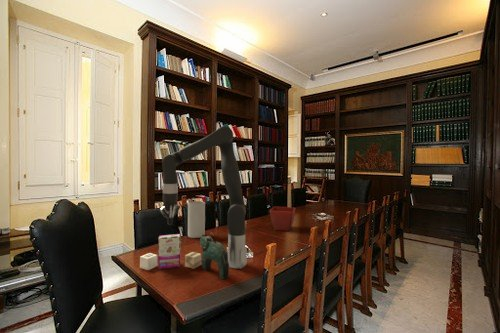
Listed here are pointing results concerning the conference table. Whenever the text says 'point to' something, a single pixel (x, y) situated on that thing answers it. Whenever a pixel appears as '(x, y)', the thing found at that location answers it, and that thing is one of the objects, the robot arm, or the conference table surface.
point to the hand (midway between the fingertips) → (169, 224)
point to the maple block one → (192, 260)
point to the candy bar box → (169, 251)
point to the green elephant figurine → (214, 255)
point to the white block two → (148, 261)
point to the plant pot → (282, 218)
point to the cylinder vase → (196, 219)
